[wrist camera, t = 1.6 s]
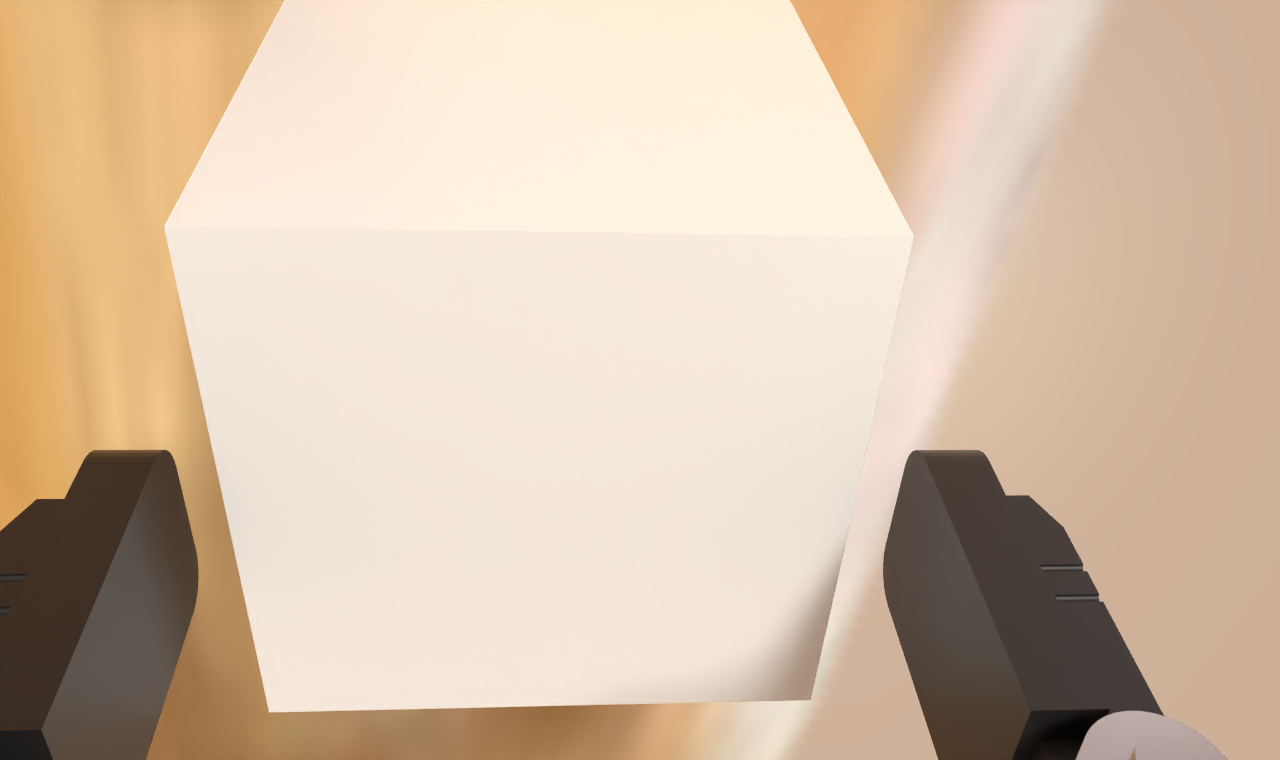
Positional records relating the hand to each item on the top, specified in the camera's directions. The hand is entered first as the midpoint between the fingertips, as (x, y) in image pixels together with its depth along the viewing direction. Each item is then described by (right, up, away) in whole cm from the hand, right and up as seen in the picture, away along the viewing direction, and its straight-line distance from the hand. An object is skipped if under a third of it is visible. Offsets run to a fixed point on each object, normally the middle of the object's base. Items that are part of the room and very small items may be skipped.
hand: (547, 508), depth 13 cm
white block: (-1, +5, +7) cm, 9 cm away
